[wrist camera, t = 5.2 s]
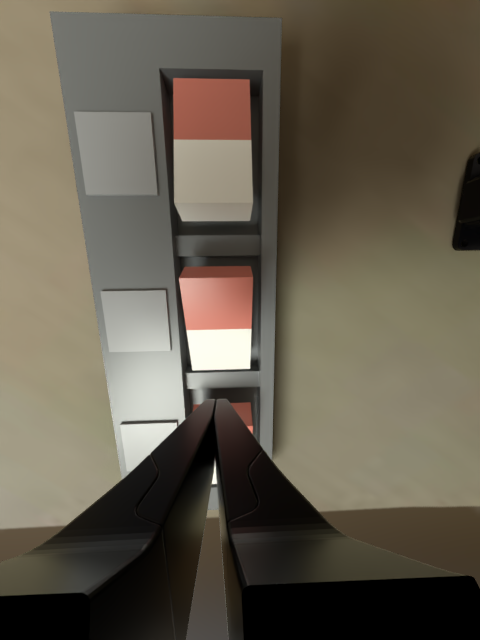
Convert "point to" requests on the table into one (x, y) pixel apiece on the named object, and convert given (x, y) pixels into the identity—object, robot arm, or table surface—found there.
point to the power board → (166, 209)
